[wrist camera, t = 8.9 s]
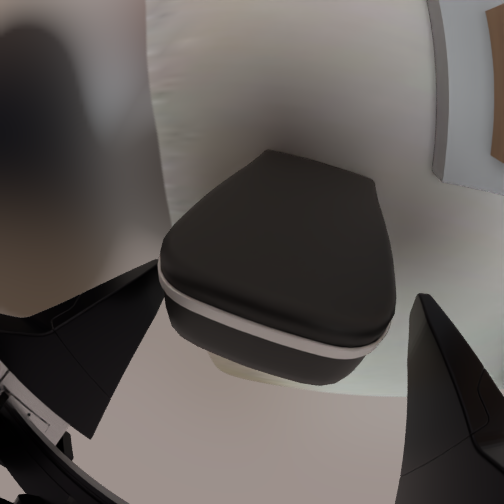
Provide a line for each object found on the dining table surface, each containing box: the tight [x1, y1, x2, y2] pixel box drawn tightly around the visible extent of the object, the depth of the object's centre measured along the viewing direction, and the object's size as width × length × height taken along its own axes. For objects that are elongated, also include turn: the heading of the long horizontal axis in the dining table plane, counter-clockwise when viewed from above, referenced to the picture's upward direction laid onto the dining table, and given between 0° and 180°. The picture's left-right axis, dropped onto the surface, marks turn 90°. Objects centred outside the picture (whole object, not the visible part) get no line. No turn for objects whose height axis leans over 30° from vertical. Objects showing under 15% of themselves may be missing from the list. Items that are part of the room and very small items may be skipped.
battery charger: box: [158, 150, 396, 386], centre depth 11 cm, size 7×4×11 cm, turn 81°
